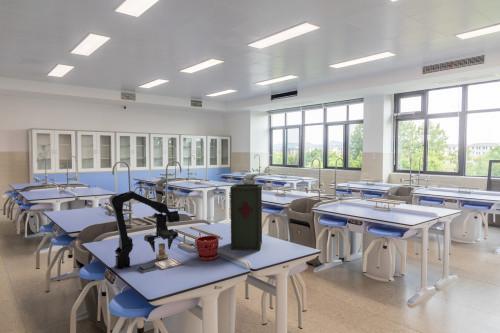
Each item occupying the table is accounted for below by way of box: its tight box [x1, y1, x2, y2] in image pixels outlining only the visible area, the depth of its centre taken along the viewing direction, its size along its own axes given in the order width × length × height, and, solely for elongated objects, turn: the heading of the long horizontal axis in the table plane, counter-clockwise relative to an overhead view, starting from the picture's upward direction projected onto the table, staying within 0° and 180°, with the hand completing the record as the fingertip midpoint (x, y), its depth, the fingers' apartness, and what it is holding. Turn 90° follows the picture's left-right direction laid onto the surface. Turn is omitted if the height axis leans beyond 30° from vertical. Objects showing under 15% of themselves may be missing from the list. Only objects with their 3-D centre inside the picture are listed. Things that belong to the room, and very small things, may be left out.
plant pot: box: [195, 235, 220, 261], centre depth 192 cm, size 13×13×12 cm
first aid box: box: [229, 183, 263, 251], centre depth 215 cm, size 18×18×40 cm
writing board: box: [152, 257, 185, 271], centre depth 182 cm, size 13×13×1 cm
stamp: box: [155, 242, 169, 262], centre depth 191 cm, size 5×5×9 cm
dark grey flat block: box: [137, 262, 159, 274], centre depth 174 cm, size 8×7×2 cm
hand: (161, 250), depth 191 cm, fingers open, 9 cm apart
